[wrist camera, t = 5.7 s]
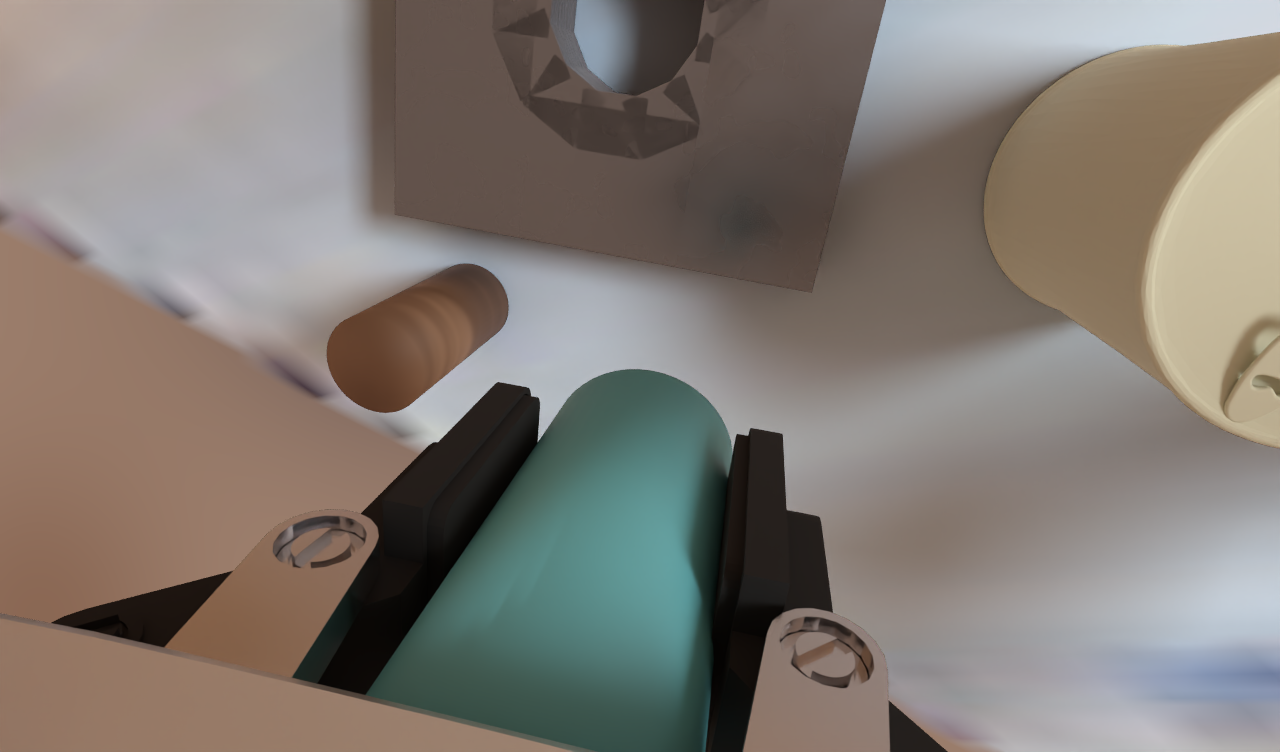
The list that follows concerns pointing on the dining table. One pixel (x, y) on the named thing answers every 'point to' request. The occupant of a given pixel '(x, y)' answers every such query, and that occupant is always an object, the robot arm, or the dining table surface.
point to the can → (1158, 217)
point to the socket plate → (634, 132)
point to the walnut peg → (415, 337)
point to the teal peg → (587, 581)
